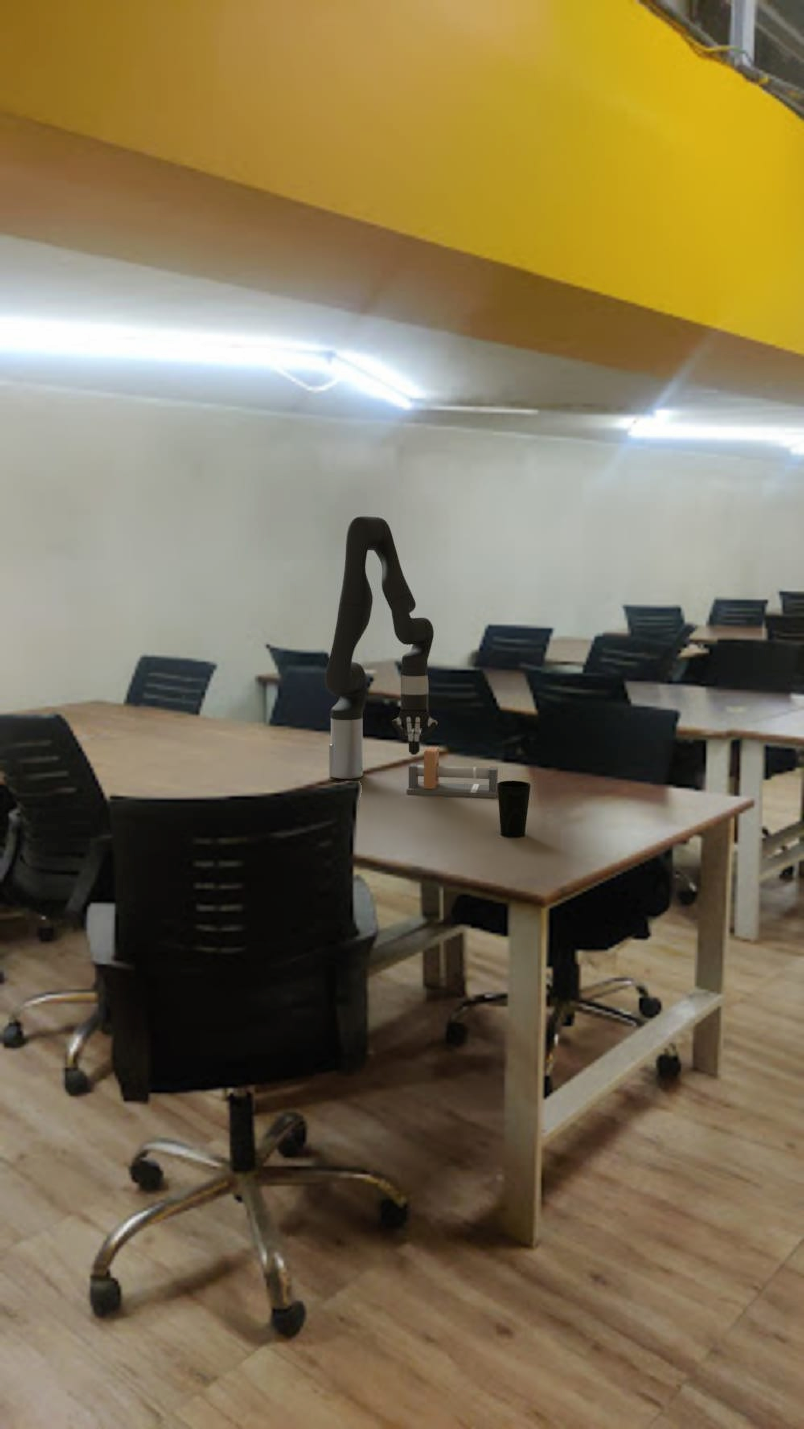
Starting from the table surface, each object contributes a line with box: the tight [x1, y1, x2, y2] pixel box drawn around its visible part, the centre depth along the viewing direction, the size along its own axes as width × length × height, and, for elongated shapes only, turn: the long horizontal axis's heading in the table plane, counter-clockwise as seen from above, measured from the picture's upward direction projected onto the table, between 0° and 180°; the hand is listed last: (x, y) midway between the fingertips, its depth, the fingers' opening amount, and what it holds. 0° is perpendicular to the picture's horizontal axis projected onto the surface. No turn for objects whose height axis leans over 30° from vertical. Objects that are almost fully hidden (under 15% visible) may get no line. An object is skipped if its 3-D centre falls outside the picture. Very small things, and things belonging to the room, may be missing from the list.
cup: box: [497, 780, 532, 839], centre depth 238 cm, size 8×8×12 cm
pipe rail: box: [406, 763, 499, 799], centre depth 280 cm, size 24×10×7 cm, turn 80°
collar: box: [423, 746, 440, 789], centre depth 281 cm, size 3×8×10 cm, turn 170°
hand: (414, 754), depth 281 cm, fingers closed
